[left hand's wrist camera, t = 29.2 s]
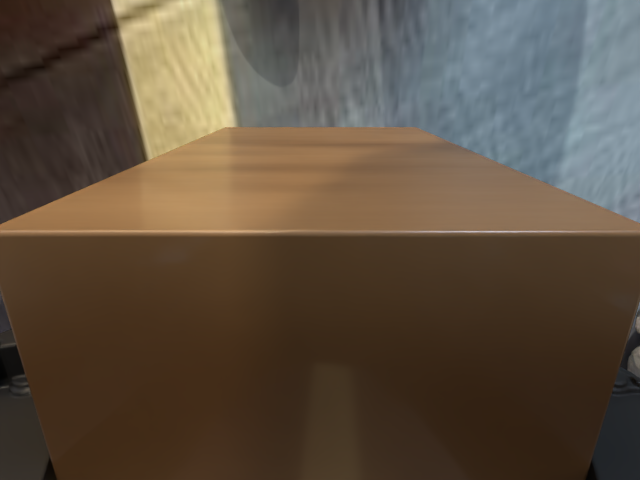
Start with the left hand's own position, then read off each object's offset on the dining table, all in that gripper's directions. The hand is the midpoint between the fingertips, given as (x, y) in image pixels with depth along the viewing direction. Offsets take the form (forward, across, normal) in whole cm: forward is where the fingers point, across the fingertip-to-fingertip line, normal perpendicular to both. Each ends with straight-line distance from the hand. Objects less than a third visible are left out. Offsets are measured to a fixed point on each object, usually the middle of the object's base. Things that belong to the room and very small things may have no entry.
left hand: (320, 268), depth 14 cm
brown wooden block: (+3, 0, 0) cm, 3 cm away
